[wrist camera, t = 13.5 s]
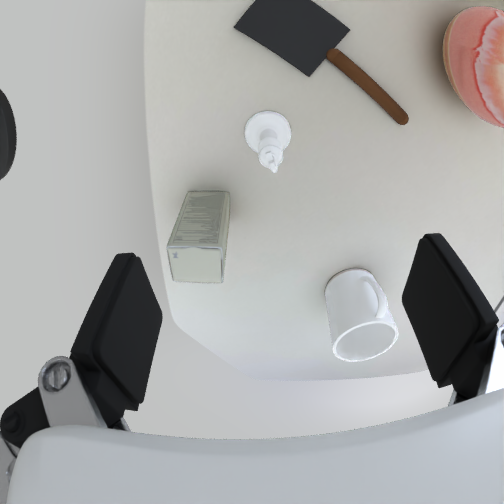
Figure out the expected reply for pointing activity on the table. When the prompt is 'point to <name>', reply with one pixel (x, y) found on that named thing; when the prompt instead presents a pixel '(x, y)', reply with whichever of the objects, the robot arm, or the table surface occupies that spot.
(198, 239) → the box
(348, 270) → the mug
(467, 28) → the vase
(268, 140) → the chess piece
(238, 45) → the table surface
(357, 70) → the spatula
